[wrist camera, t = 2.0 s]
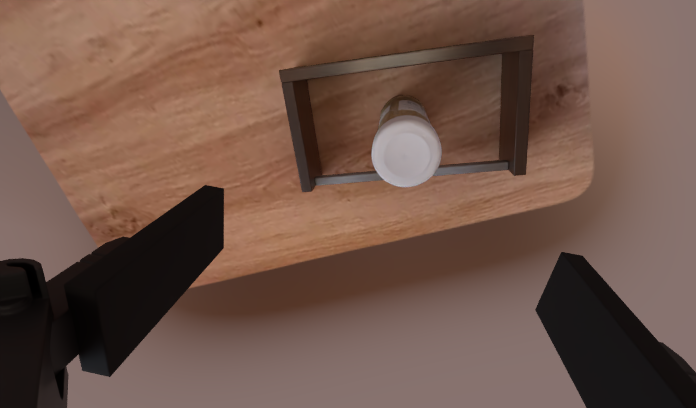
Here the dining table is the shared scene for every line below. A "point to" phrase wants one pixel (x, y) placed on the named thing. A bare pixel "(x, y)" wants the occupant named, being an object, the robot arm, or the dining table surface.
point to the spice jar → (405, 143)
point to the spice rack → (513, 65)
